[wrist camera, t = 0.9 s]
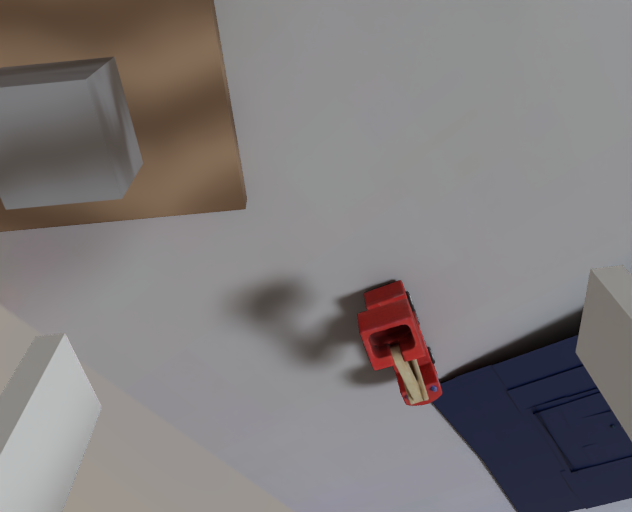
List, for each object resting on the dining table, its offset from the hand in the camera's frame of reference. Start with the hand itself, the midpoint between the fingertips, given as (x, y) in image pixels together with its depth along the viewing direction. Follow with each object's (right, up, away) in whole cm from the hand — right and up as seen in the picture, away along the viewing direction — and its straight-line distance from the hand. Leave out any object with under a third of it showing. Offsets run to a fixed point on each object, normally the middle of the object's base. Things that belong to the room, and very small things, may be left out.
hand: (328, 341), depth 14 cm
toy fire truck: (+6, -2, +29) cm, 30 cm away
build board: (-15, +11, +19) cm, 27 cm away
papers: (+28, -10, +35) cm, 46 cm away
